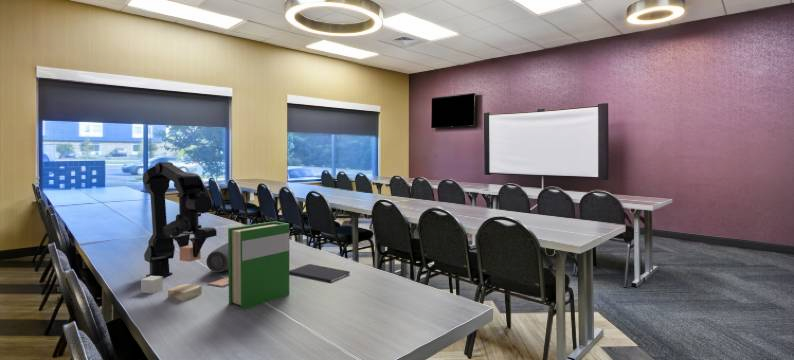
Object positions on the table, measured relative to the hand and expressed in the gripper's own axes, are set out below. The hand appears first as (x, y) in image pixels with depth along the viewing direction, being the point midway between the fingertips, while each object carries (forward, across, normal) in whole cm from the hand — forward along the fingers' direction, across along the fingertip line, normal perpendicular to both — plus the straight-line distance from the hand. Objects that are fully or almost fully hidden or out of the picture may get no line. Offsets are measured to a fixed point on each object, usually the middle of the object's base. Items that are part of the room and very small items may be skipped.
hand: (190, 256), depth 143 cm
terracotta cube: (+1, 0, 0) cm, 1 cm away
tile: (+12, +4, +10) cm, 16 cm away
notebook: (+13, +30, +34) cm, 47 cm away
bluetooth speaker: (+12, -9, +27) cm, 31 cm away
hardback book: (+12, +27, +2) cm, 30 cm away
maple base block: (+12, +3, -5) cm, 13 cm away
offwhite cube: (+12, -11, -6) cm, 17 cm away
